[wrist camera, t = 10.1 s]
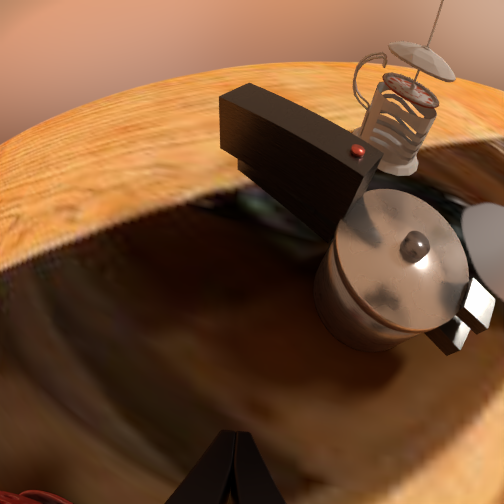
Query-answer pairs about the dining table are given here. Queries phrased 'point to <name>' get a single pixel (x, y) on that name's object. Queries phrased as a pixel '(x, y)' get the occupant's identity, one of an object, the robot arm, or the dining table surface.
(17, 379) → the dining table surface
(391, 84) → the french press
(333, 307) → the pot
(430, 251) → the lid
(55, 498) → the plant pot
